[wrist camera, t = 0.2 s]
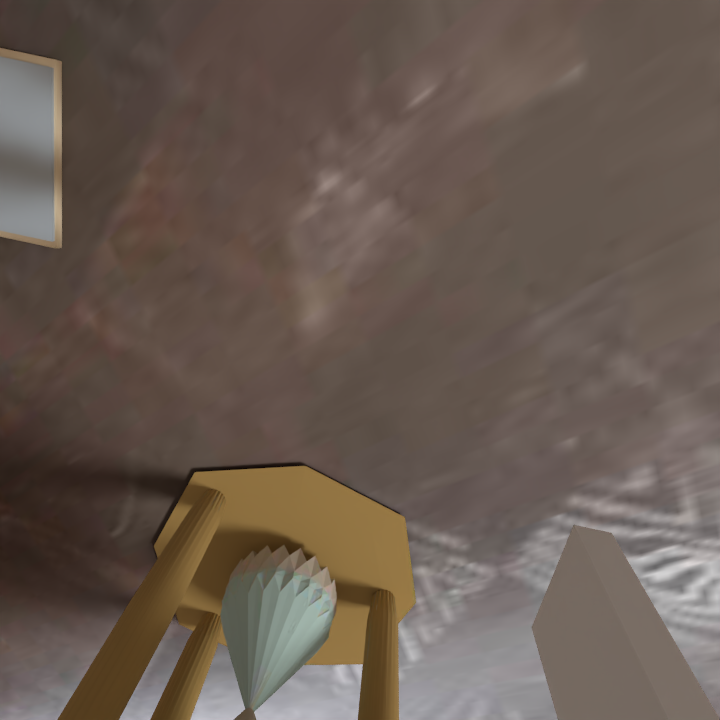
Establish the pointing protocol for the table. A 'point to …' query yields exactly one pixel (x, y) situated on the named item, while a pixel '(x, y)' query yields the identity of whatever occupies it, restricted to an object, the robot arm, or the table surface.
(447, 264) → the table surface
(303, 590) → the hourglass
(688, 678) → the robot arm
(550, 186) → the table surface
